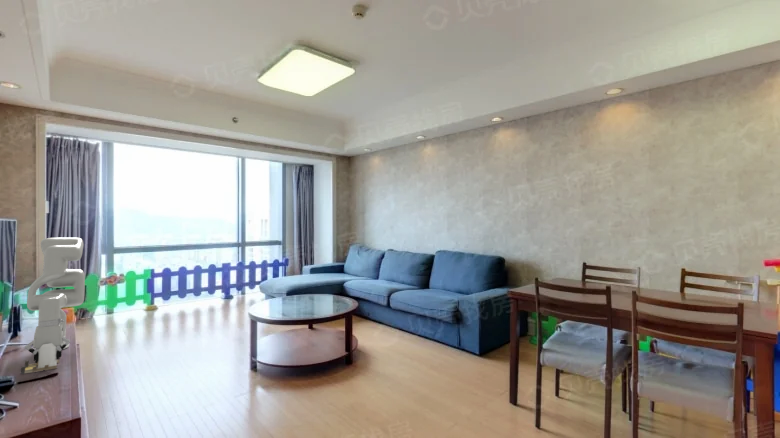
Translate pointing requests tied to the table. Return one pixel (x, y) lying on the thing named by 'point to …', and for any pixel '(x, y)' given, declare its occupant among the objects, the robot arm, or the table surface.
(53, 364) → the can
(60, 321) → the robot arm
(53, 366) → the comb channel
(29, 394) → the table surface
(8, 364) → the table surface
